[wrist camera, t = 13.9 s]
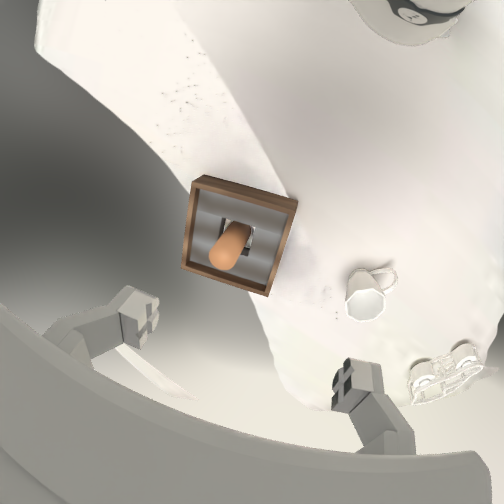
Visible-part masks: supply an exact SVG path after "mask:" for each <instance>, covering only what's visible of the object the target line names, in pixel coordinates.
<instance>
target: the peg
mask: <svg viewBox="0 0 504 504" xmlns="http://www.w3.org/2000/svg"><path fill="white" fill-rule="evenodd" d="M250 235H251V227H250V225H247V224H243V223H240V222H237V221H232V222H231V223H230V225H229V226H228V227H227V229H226V230H225V231H224V233H223V234H222V235H221V237H220V238H219V239H218V241H217V242H216V243H215V245H214V246H213V247H212V249H211V250H210V252H209V260H210V262H211V263H212V265H213V266H214V267H216V268H218V269H220V270H229V269H231V268H232V267H233V266H234V265H235V263H236V261H237V259H238V257H239V256H240V254H241V252H242V250H243V248H244V246H245V244H246V243H247V241H248V239H249V237H250Z"/></svg>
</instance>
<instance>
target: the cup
mask: <svg viewBox="0 0 504 504" xmlns="http://www.w3.org/2000/svg"><path fill="white" fill-rule="evenodd" d="M378 273H393V274H394V275H395V279H394V281H393V283H392V285H391V286H389V287H387V288H385V289H381V288H380V286H379V284H378V283H377V281H376V280H375V279H374V278H373V277H372V276H373V275H374V274H378ZM397 283H398V277H397V274H396V272H395V270H393V269H391V268H382V269H376V270H372V271H370V272H369V271H367V270H366V269H364V268H363V269H357V270H354V271H353V273H352V274H351V275H350V276H349V282H348V285H347V292H346V298H345V308H346V316H348V317H350V318H351V319H353V320H355V321H356V322H358V323H360V322H367V321H373V320H375V319H376V318H377V317H378V316H379V315H380V314H382V313H383V312H384V311H385V294H388V293H389V292H391V291H392V290H393V289H395V287H396V285H397Z"/></svg>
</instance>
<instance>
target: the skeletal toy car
mask: <svg viewBox="0 0 504 504" xmlns="http://www.w3.org/2000/svg"><path fill="white" fill-rule="evenodd" d="M474 353H475V354H474ZM451 356H452V359H453V361H452V362H450V363H448V364H445V365H444V364H443V361H442V360H443V359H446V358H449V357H451ZM476 358H477V360H478V362H476ZM437 361H439V362H440V365H441V367H439V368H438V369H437V370H438V375H436V376H435V374H434V371H433V367H432V363H435V362H437ZM477 366H479V367H478V368H476V369H474V370H472V371H471V372H469V373H468V374H466V375H464V371H466V370H468V369H471V368H473V367H477ZM448 367H449V368H448ZM454 367H455V368H456V372H454V373H451V374H448V375H447V373H449V372H450V371H451V370H452V369H453V368H454ZM483 367H484V366H483V364H482V362H481V359H480V357H479V355H478V352H477V350H476V347H475V345H474V344H472V343H469V344H468V343H466V344H462V345H460V346H458V347H457V348H456V349H454V350H453V351H451V352H450V353H448V354H446V355H443V356H439V357H437V358H434V359H431V360H429V361H427V362H422V363H419V364H417V365H416V366H414V367H413V368H412V370H411V371H410V379H409V380H408V383H407V384H408V389H409V395H410V402H411V405H418V404H426V403H429V402H432V401H435V400H437V399H440V398H442V397H444V396H446V395H448V394H450V393H452V392H454V391H455V390H456V389H457V388H458V387H460V386H461V385H462V384H464V383H465V382H466V380H467V379H468V378H469V377H471V376H472V375H474V374H476V373H478V372H479V371H481V370H482V369H483ZM446 368H448V369H447V370H445V369H446ZM460 374H461V376H462V378H461V379H458V380H456V381H454V382H452V383H449V384H447V385H446V384H445V380H448V379H451V378H454V377H456V376H458V375H460ZM443 375H444V376H443ZM437 383H440V385H441V388H442V393H441V394H438V395H436V396H433V397H431V398H428V399H425V396H424V391H423V390H425V389H427V388H429V387H431V386H433V385H435V384H437ZM411 386H413V387H414V388H416V389H415V390H414V396H413V395H412V389H411ZM451 387H452V388H451ZM449 388H450V389H449ZM447 389H448V390H447ZM445 390H446V391H445ZM419 392H421V397H422V399H421V400H417V401H416V398H417V393H419Z"/></svg>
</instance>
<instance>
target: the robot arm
mask: <svg viewBox="0 0 504 504" xmlns="http://www.w3.org/2000/svg"><path fill="white" fill-rule="evenodd" d="M349 1H350V2H351V3H352V4H353V6H354V7H355V9H356V11H357V13H358V14H359V16H360V17H361V19H362V20H363V21H364V22H365V23H366V25H367V26H368V27H369V28H370V29H372V30H373V31H374V32H375V33H377V34H378V35H379V36H381V37H383V38H385V39H386V40H388V41H391V42H393V43H396V44H399V45H404V46H419V45H423V44H426V43H428V42H430V41H432V40H433V39H436V38H447V37H449V36H450V28H451V27H452V26H453V25H454V24H456V23H457V21H458V18H457V16H458V15H460V13H461V12H462V11H463V10H464V8H465V6H466V5H468V4H470V3H471V2H473V1H475V0H349ZM158 305H159V299H158V298H157V297H155V296H152V295H150V294H148V293H145V292H143V291H141V290H138V289H136V288H133V287H131V286H129V285H127V286H125V287H124V288H123V289H122V290H121V291H120V292H119V293H118V294H117V295H116V296H115V297H114V298H113V300H112V301H111V302H110V303H109V304H108V305H107V306H104V305H102V306H99V307H96V308H92V309H89V310H86V311H83V312H79V313H76V314H72V315H69V316H66V317H63V318H59V319H58V320H57V321H56V322H55V323H54V324H53V325H52V326H51V327H50V328H49V329H48V330H47V331H46V332H45V333H44V334H43V335H42V336H41V335H40V334H39V333H37V332H36V331H34V330H33V329H32V328H31V327H29V326H28V325H27V324H26V323H24V322H23V321H22V320H21V319H19V318H18V317H17V316H16V315H15V314H13V313H12V312H11V311H10V310H9V309H7V308H6V307H5V306H4V305H3V304H2V303H1V302H0V504H492V490H491V489H492V487H491V476H490V472H489V469H488V467H487V466H486V464H485V463H484V461H483V460H482V459H481V457H480V456H479V455H478V454H477V453H476V452H475V451H462V452H453V453H442V454H427V455H416V446H415V436H414V431H413V429H412V428H411V427H410V425H409V424H408V423H407V421H406V420H405V418H404V417H403V415H402V414H401V413H400V411H399V410H398V409H397V407H396V406H395V404H394V403H393V402H392V400H391V399H390V398H389V396H388V395H386V394H384V385H383V377H382V370H381V365H380V364H377V363H372V362H367V361H362V360H358V359H353V358H347V359H346V360H345V361H344V363H343V368H340V369H339V370H338V371H337V373H336V374H335V377H334V379H333V384H332V390H333V391H334V393H335V394H334V396H333V397H332V406H331V410H332V411H337V412H342V413H348V414H349V417H350V419H351V421H352V423H353V425H354V427H355V429H356V431H357V433H358V435H359V437H360V439H361V441H362V443H363V446H364V447H363V448H361V449H360V450H359V451H357V452H356V453H348V452H339V451H330V450H324V449H316V448H310V447H304V446H299V445H294V444H289V443H284V442H279V441H274V440H270V439H266V438H262V437H258V436H254V435H250V434H246V433H242V432H239V431H236V430H233V429H229V428H226V427H223V426H220V425H216V424H213V423H210V422H207V421H204V420H202V419H199V418H196V417H193V416H191V415H188V414H185V413H183V412H180V411H178V410H175V409H173V408H170V407H168V406H166V405H163V404H161V403H158V402H156V401H154V400H152V399H149V398H147V397H145V396H143V395H141V394H139V393H137V392H135V391H132V390H131V389H128V388H127V387H125V386H122V385H120V384H119V383H117V382H115V381H113V380H111V379H109V378H108V377H106V376H104V375H102V374H100V373H99V372H97V371H95V370H94V367H93V365H92V362H91V359H92V358H94V357H96V356H99V355H101V354H103V353H105V352H107V351H109V350H111V349H113V348H115V347H117V346H119V345H121V344H123V342H124V343H126V344H128V345H131V346H133V347H135V348H138V349H141V348H142V347H143V345H144V344H145V342H146V341H147V334H149V333H152V332H153V330H154V329H155V327H156V325H157V323H158V319H159V312H158V310H157V309H156V308H157V307H158Z"/></svg>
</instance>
